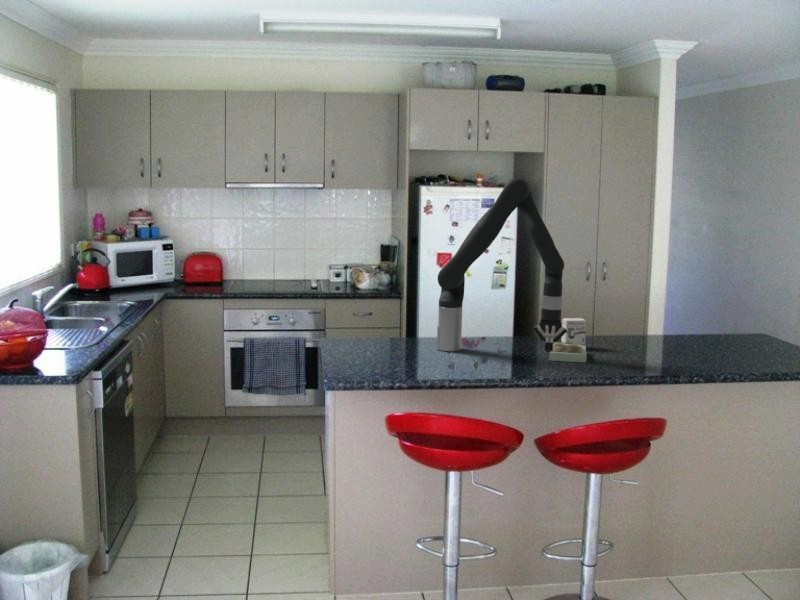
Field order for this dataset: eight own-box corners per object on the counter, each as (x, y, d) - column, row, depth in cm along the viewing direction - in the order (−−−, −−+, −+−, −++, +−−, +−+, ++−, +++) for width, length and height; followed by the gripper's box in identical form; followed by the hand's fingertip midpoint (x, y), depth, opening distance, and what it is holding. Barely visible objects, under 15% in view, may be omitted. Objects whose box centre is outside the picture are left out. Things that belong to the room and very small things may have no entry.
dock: (549, 360, 319) (549, 352, 319) (549, 351, 335) (550, 344, 334) (586, 362, 317) (586, 354, 316) (585, 353, 332) (585, 346, 332)
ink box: (564, 349, 340) (566, 320, 338) (560, 346, 345) (561, 318, 343) (585, 348, 341) (586, 320, 339) (580, 346, 346) (582, 317, 344)
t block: (555, 359, 322) (556, 347, 321) (553, 353, 332) (554, 342, 331) (582, 360, 321) (583, 348, 320) (579, 354, 331) (580, 343, 330)
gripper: (533, 307, 322) (530, 352, 324) (569, 310, 319) (566, 355, 322) (534, 304, 329) (531, 348, 332) (569, 307, 327) (566, 351, 329)
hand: (548, 351), depth 327 cm, fingers closed
